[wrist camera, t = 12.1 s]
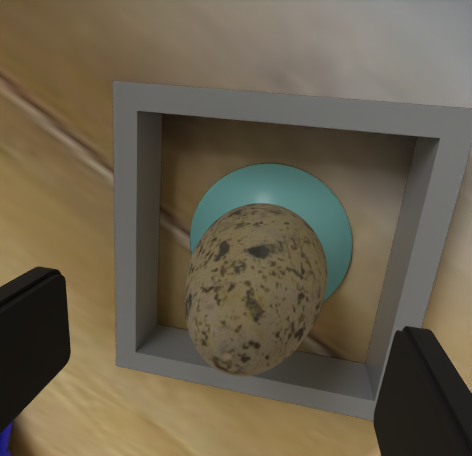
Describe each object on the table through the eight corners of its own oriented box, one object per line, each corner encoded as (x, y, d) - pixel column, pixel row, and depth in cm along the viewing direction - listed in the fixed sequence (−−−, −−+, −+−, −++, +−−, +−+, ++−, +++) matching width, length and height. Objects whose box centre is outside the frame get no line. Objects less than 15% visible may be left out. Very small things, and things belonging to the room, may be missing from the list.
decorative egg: (344, 261, 19) (382, 398, 9) (253, 309, 21) (208, 463, 11) (284, 168, 18) (259, 214, 9) (195, 226, 20) (95, 316, 10)
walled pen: (141, 88, 19) (112, 80, 16) (450, 112, 16) (481, 109, 13) (139, 336, 23) (116, 365, 20) (381, 384, 21) (394, 425, 18)
